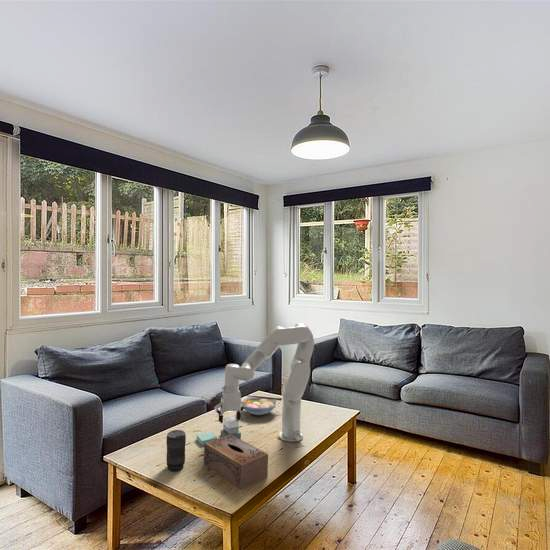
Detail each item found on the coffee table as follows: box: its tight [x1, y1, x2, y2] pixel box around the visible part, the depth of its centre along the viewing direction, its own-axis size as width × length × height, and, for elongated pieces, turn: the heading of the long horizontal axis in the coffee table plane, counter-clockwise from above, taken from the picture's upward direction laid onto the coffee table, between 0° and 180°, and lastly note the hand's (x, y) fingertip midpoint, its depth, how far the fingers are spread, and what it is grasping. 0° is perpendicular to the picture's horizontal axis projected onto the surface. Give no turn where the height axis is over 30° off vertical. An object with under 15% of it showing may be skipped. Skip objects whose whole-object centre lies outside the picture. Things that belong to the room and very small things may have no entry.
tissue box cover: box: [203, 434, 269, 490], centre depth 167 cm, size 26×14×10 cm, turn 45°
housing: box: [222, 416, 240, 435], centre depth 201 cm, size 7×6×6 cm
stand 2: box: [220, 429, 242, 439], centre depth 201 cm, size 8×8×2 cm
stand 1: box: [196, 431, 218, 447], centre depth 195 cm, size 8×8×2 cm
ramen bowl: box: [241, 394, 283, 416], centre depth 234 cm, size 25×23×8 cm
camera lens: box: [166, 429, 187, 472], centre depth 168 cm, size 8×8×15 cm
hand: (229, 420), depth 201 cm, fingers open, 9 cm apart
